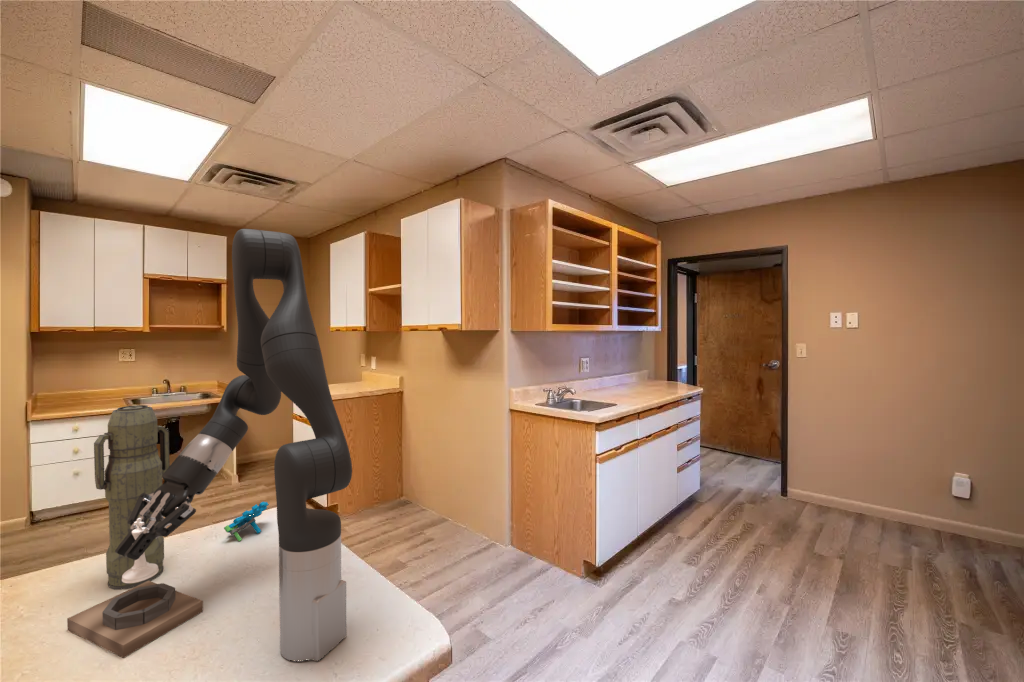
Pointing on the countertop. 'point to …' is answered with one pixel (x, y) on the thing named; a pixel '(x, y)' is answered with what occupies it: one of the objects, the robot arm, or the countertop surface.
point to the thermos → (130, 481)
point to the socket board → (134, 633)
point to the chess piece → (139, 562)
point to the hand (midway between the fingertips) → (125, 556)
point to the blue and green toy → (246, 520)
